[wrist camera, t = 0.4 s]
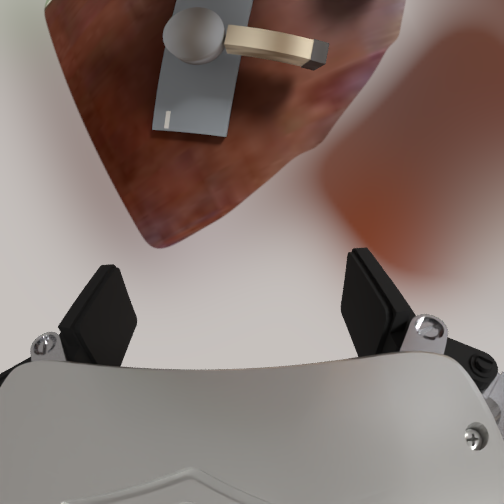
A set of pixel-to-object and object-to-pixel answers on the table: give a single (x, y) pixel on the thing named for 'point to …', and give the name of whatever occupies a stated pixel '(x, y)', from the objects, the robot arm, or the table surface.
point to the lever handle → (236, 41)
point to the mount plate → (200, 80)
